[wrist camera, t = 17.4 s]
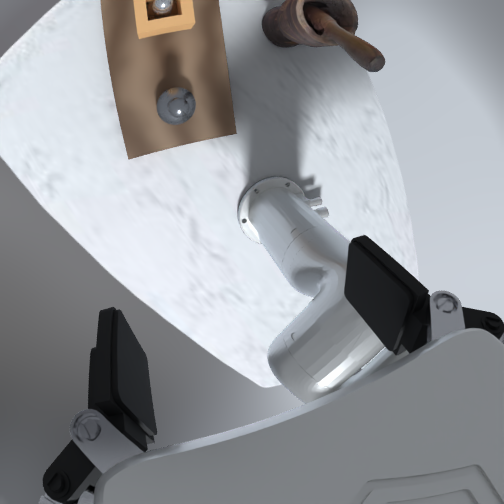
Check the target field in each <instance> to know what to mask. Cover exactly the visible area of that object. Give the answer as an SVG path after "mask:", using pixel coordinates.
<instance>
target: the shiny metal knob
mask: <svg viewBox="0 0 504 504" xmlns="http://www.w3.org/2000/svg"><path fill="white" fill-rule="evenodd" d="M195 108H196V101H195V98H194V96H193V95H192V93H191V92H190V91H188V90H187V89H184V88H180V87H175V88H170V89H168V90H166V91H164V92H163V93H162V94H161V95H160V97H159V99H158V101H157V113H158V115H159V117H160V118H161V119H162V120H163V121H164V122H166V123H168V124H172V125H178V124H182V123H184V122H186V121H188V120H189V119H190V118H191V117H192V115H193V114H194V112H195Z"/></svg>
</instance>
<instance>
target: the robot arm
mask: <svg viewBox="0 0 504 504" xmlns="http://www.w3.org/2000/svg"><path fill="white" fill-rule="evenodd" d="M255 189H256V191H254V190H255ZM321 204H322V199H321V197H317V198H313V199H310V200H309V199H308V198H306V197H305V194H304V192H303V191H302V189H301V188H300V187H299V186H298V185H297V184H296V183H294V182H293V181H291V180H289V179H287V178H282V177H271V178H266V179H264V180H261V181H259V182H258V183H256V184H255V185H253V186H252V187H251V188H250V189H249V190H248V191H247V192H246V194H245V195H244V196H243V198H242V200H241V202H240V206H239V210H238V221H239V224H240V227H241V229H242V231H243V232H244V234H245V235H246V236H247V237H248V238H249V239H250V240H252V241H254V242H256V243H258V244H263V246H264V247H265V249H266V250H267V251H268V253H269V254H270V256H271V257H272V259H273V260H274V262H275V263H276V265H277V266H278V268H279V269H280V270H281V272H282V273H283V275H284V276H285V278H286V279H287V281H288V282H289V283H290V285H291V286H292V287H293V288H294V289H296V290H297V291H298V292H300V293H302V294H304V295H307V296H310V297H314V299H313V300H312V301H311V302H310V303H309V305H308V306H307V307H306V308H305V309H304V310H303V311H302V312H301V313H300V314H299V315H298V316H297V317H296V318H295V319H294V320H293V321H292V322H291V323H290V324H289V325H288V326H287V327H286V328H285V329H284V330H283V331H282V332H281V333H280V334H279V335H278V336H277V337H276V338H275V339H274V341H273V342H272V344H271V345H270V347H269V350H268V355H267V357H268V363H269V366H270V368H271V370H272V372H273V374H274V375H275V377H276V378H277V379H278V380H279V381H280V383H281V384H282V385H283V386H284V387H285V388H286V389H288V390H289V391H290V392H291V393H292V394H293V395H295V396H296V397H297V398H298V399H300V400H301V401H302V402H304V403H305V405H302V406H300V407H297V408H294V409H292V410H290V411H286V412H284V413H281V414H278V415H275V416H273V417H270V418H267V419H264V420H261V421H258V422H255V423H252V424H249V425H246V426H242V427H239V428H236V429H232V430H229V431H225V432H222V433H219V434H215V435H211V436H207V437H203V438H200V439H196V440H192V441H188V442H183V443H179V444H175V445H171V446H167V447H163V448H159V449H155V450H150V451H148V452H146V451H147V444H149V443H154V437H153V435H156V434H157V428H156V423H155V416H154V409H153V403H152V395H151V387H150V379H149V370H148V361H147V357H146V354H145V352H144V351H143V349H142V348H141V346H140V344H139V342H138V341H137V339H136V337H135V335H134V334H133V332H132V330H131V328H130V326H129V324H128V323H127V321H126V319H125V317H124V315H123V314H122V312H121V310H116V309H115V308H114V307H111V308H108V309H104V310H101V311H100V312H99V321H98V332H97V344H96V347H95V348H92V349H91V353H90V369H89V390H88V391H89V392H88V393H89V394H88V409H86V410H82V411H80V412H79V413H77V414H76V415H75V416H74V418H73V419H72V422H71V424H70V435H71V437H72V440H71V441H70V443H69V444H68V445H67V446H66V447H65V449H64V450H63V451H62V452H61V454H60V455H59V456H58V457H57V458H56V459H55V461H54V462H53V463H52V464H51V466H50V467H49V468H48V469H47V470H46V472H45V474H44V477H43V487H44V490H45V492H46V493H45V496H44V497H43V496H41V497H40V500H39V503H38V504H504V323H503V321H502V320H501V318H500V317H499V316H497V315H496V314H494V313H491V312H486V311H481V310H475V309H471V308H465V307H462V306H461V302H460V300H459V299H458V298H457V297H456V296H455V295H454V294H452V293H450V292H447V291H437V292H435V293H433V294H432V295H431V296H430V295H429V294H428V292H429V290H428V289H427V288H425V287H424V286H423V285H422V284H421V283H420V282H419V281H418V280H417V279H416V278H415V277H414V276H412V275H411V274H410V273H409V272H408V271H407V270H406V269H405V268H404V267H402V266H401V265H400V264H399V263H398V262H397V261H396V260H394V259H393V258H392V257H391V256H390V255H389V254H388V253H386V252H385V251H384V250H383V249H382V248H381V247H379V246H378V245H377V244H376V243H375V242H373V241H372V240H371V239H370V238H369V237H367V236H366V235H363V236H359V237H356V238H353V239H352V240H351V242H350V241H349V240H347V239H346V238H345V237H344V236H343V235H342V234H341V233H339V232H338V231H337V230H336V229H335V228H334V227H333V226H331V225H330V224H329V223H328V222H327V221H326V220H325V219H323V218H326V217H328V216H329V212H328V209H327V208H326V207H322V208H318V209H316V210H313V209H312V208H311V206H317V205H321ZM242 219H243V220H242ZM384 347H386V348H385V349H384V350H383V351H381V350H382V349H383V348H384ZM380 351H381V352H380ZM379 352H380V353H379ZM378 353H379V354H378ZM377 354H378V355H377ZM376 355H377V356H376ZM375 356H376V357H375ZM374 357H375V358H374ZM372 358H374V359H373V360H372V361H371V362H370V363H369V364H367V363H368V362H369V361H370V360H371V359H372ZM365 364H367V365H366V366H365V367H364V368H363V369H362V370H361V371H359V372H358V373H357V374H356V375H354V374H355V373H356V372H357V371H358V370H360V369H361V368H362V367H363V366H364V365H365ZM353 375H354V376H353Z"/></svg>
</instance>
